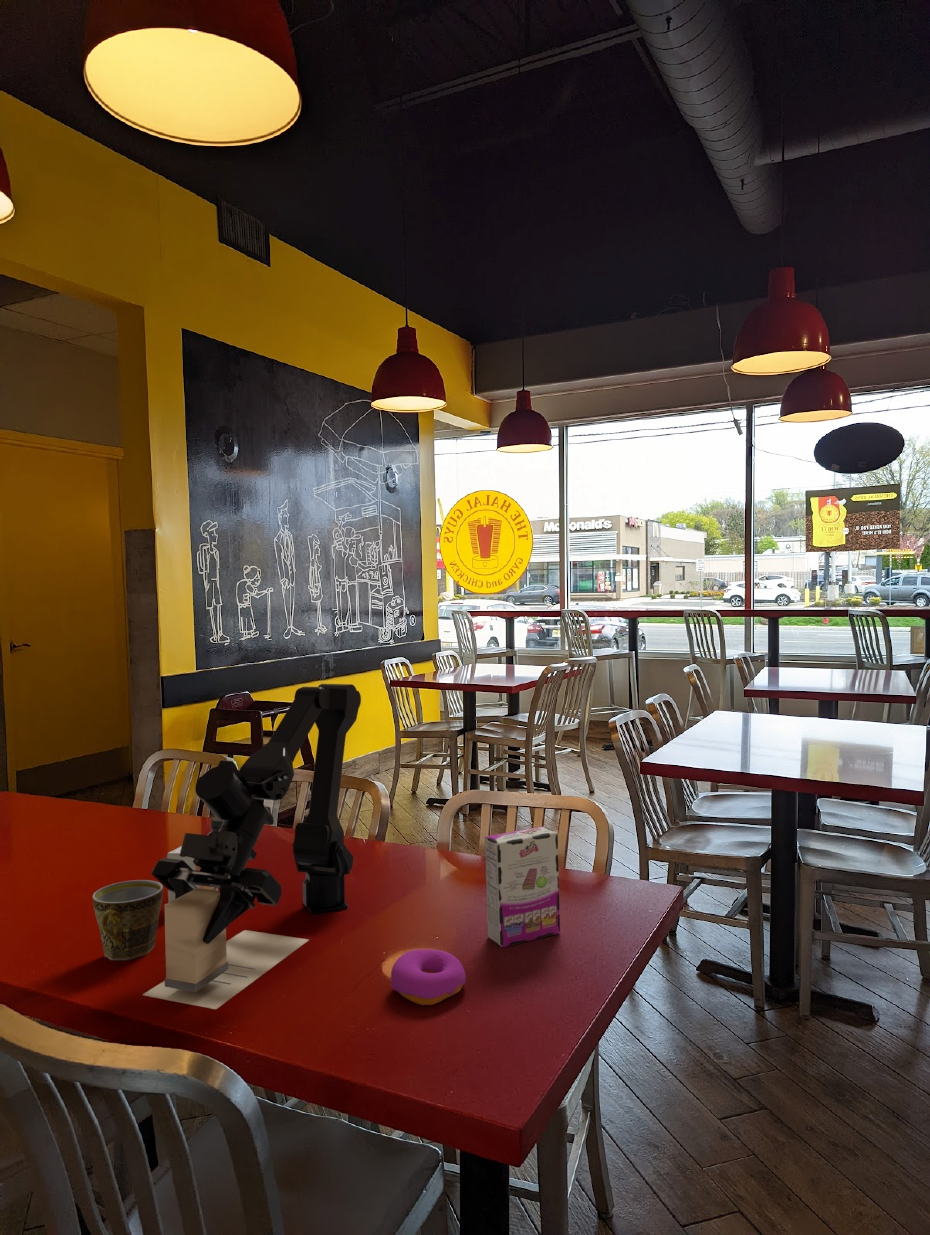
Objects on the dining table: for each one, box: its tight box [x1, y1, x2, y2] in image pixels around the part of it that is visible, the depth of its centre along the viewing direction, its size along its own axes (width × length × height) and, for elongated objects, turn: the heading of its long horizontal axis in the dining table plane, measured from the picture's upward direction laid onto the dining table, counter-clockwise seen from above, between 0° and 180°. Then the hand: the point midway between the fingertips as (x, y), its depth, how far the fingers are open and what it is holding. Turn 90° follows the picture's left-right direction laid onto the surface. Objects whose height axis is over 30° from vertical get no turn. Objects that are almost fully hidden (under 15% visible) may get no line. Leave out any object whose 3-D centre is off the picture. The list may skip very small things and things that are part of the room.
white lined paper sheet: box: [142, 929, 310, 1010], centre depth 118 cm, size 23×12×1 cm, turn 160°
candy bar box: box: [484, 826, 561, 948], centre depth 129 cm, size 11×5×16 cm, turn 117°
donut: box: [390, 948, 467, 1006], centre depth 112 cm, size 10×10×4 cm
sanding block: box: [164, 888, 228, 992], centre depth 111 cm, size 7×5×11 cm
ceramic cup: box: [92, 879, 164, 961], centre depth 123 cm, size 13×10×10 cm
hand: (189, 940), depth 110 cm, fingers closed on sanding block, 5 cm apart
